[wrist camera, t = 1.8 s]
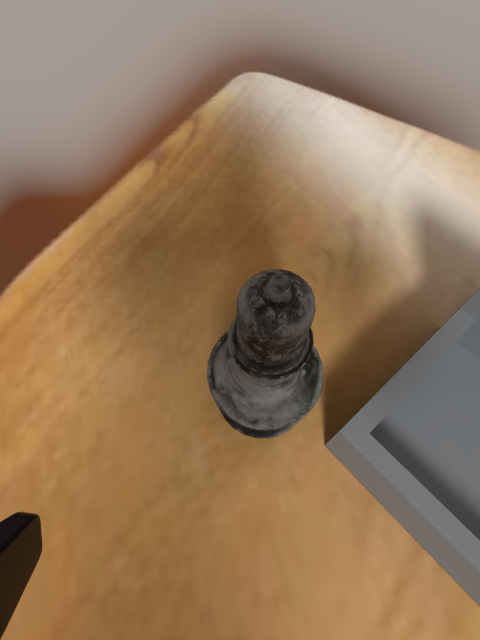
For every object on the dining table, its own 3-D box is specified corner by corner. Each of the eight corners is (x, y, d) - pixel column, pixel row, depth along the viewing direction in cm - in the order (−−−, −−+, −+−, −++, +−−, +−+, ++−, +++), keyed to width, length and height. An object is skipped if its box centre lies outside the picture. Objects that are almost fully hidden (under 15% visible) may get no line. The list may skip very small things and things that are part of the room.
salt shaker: (190, 399, 23) (147, 288, 12) (252, 328, 25) (262, 180, 14) (272, 466, 21) (306, 405, 10) (331, 384, 23) (409, 263, 12)
